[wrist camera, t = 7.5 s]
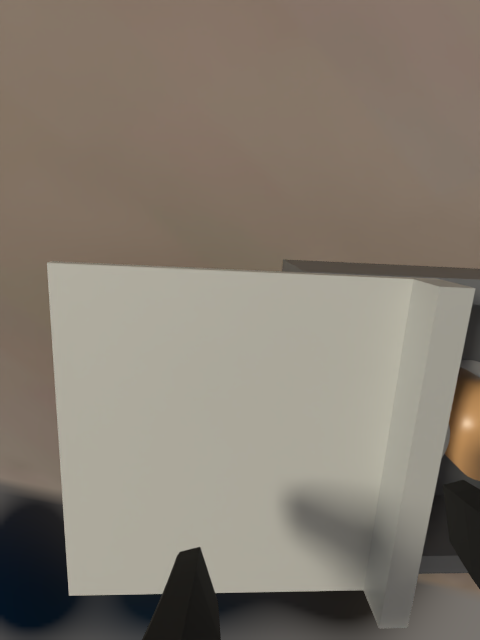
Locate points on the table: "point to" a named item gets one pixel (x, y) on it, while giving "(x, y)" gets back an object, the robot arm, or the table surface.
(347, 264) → the box
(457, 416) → the tan rounded capsule
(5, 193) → the table surface
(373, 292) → the lid
